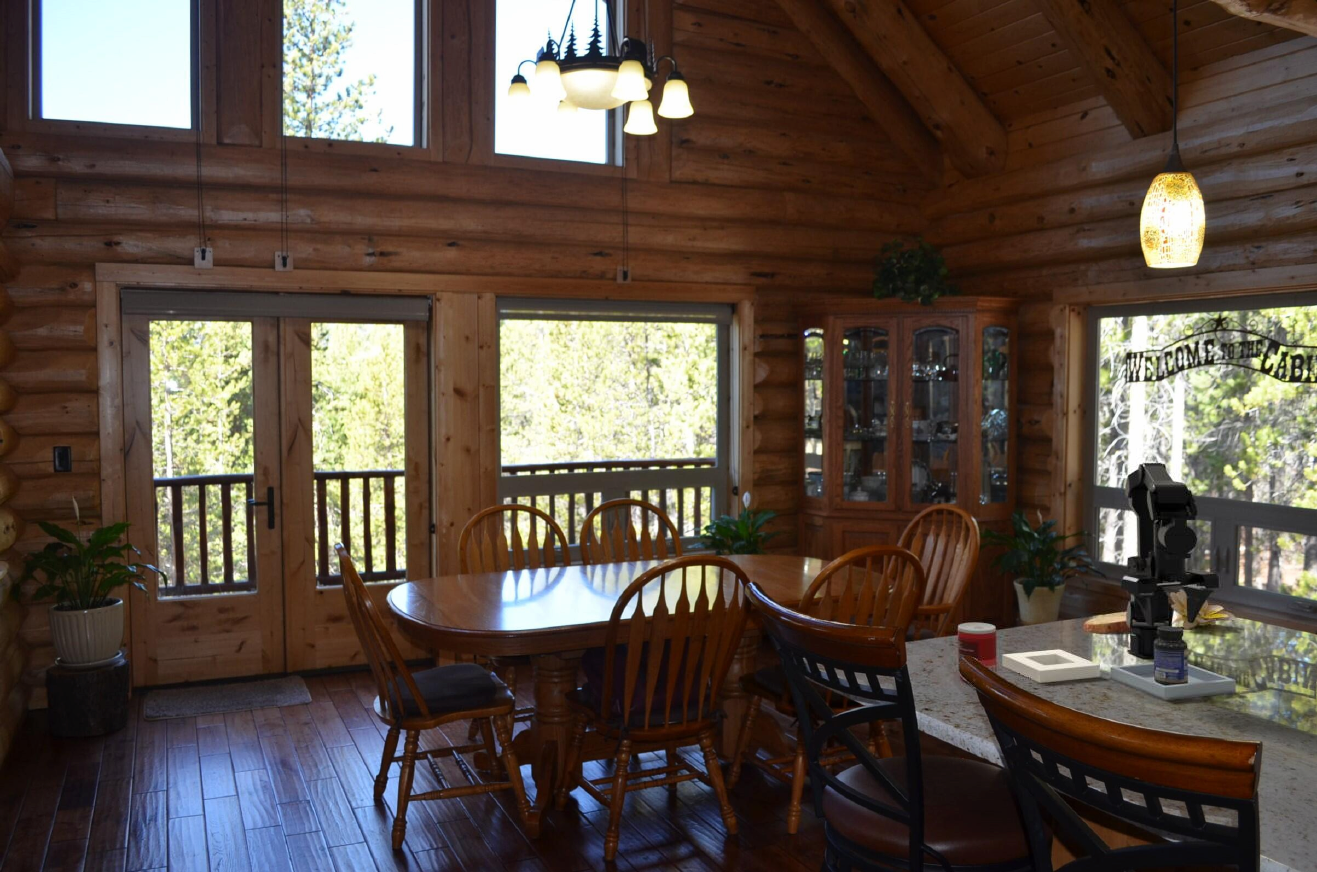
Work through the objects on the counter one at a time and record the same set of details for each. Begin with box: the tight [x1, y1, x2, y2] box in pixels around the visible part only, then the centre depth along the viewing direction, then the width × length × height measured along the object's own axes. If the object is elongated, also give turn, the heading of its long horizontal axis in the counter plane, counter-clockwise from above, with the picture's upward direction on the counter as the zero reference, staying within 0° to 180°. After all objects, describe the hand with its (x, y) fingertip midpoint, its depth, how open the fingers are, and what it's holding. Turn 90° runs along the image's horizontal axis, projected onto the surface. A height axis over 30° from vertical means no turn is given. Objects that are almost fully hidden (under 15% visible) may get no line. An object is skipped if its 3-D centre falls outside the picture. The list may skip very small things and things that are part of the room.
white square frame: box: [1001, 649, 1101, 684], centre depth 222 cm, size 14×14×2 cm
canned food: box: [957, 622, 998, 682], centre depth 218 cm, size 8×8×11 cm
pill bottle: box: [1153, 625, 1189, 686], centre depth 208 cm, size 6×6×11 cm
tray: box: [1109, 662, 1237, 701], centre depth 209 cm, size 16×16×2 cm
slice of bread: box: [1082, 611, 1135, 635], centre depth 259 cm, size 18×18×4 cm
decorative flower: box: [1169, 589, 1237, 630], centre depth 257 cm, size 15×11×10 cm
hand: (1170, 624), depth 208 cm, fingers open, 9 cm apart
